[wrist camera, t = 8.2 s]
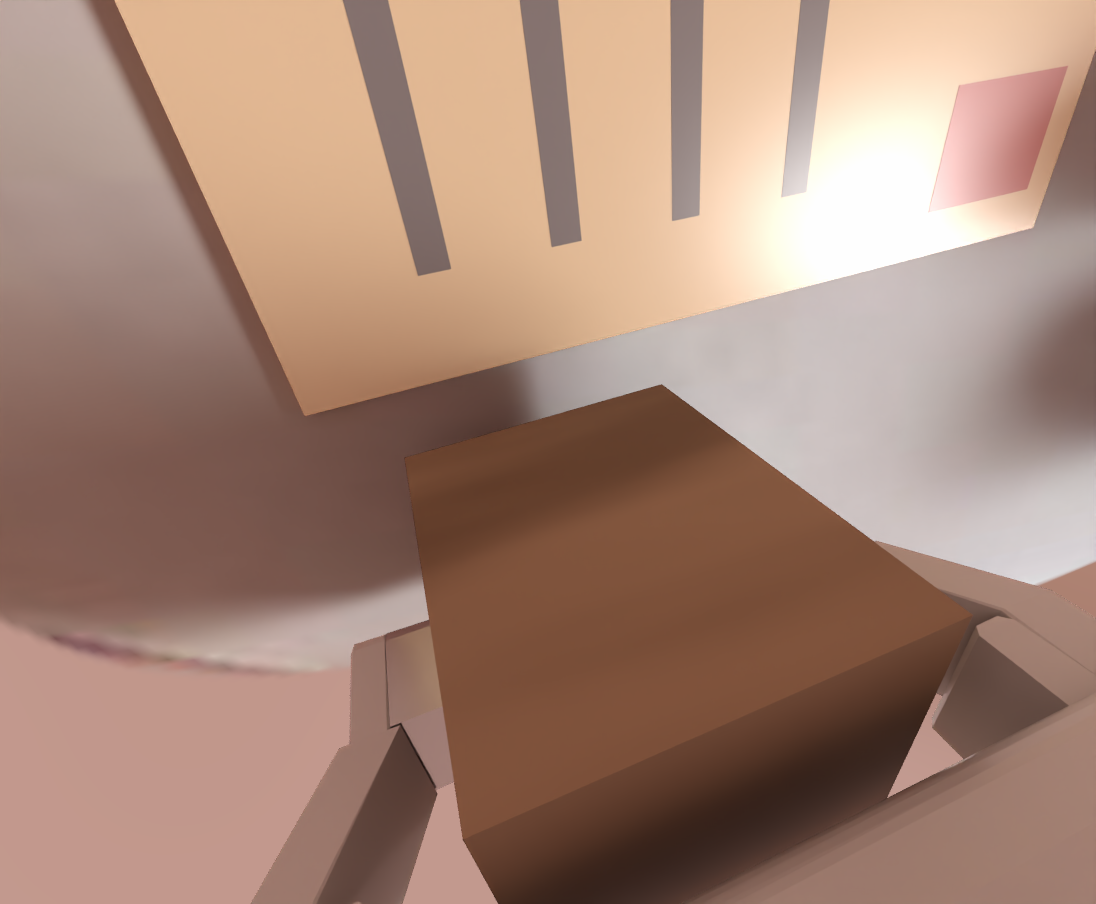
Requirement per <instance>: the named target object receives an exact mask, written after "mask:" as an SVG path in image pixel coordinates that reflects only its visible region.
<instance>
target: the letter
mask: <svg viewBox="0 0 1096 904" xmlns="http://www.w3.org/2000/svg"><path fill="white" fill-rule="evenodd" d="M114 1H115V3H116V5H117V7H118V9H119V12H120V14H121V16H122V18H123V20H124V22H125V25H126V27H127V29H128V31H129V33H130V36H131V38H132V40H133V42H134V44H135V47H136V49H137V51H138V53H139V55H140V57H141V60H142V62H143V64H144V66H145V68H146V71H147V73H148V75H149V77H150V79H151V81H152V84H153V86H154V88H155V90H156V92H157V95H158V97H159V99H160V101H161V103H162V106H163V108H164V110H165V112H166V114H167V116H168V119H169V121H170V123H171V125H172V127H173V130H174V132H175V134H176V136H177V138H178V141H179V143H180V145H181V147H182V149H183V151H184V154H185V156H186V158H187V160H188V162H189V165H190V167H191V169H192V171H193V173H194V175H195V178H196V180H197V182H198V184H199V186H200V189H201V191H202V193H203V195H204V197H205V200H206V202H207V204H208V206H209V208H210V210H211V213H212V215H213V217H214V219H215V221H216V224H217V226H218V228H219V230H220V232H221V234H222V237H223V239H224V241H225V243H226V245H227V248H228V250H229V252H230V254H231V256H232V259H233V261H234V263H235V265H236V267H237V269H238V272H239V274H240V276H241V278H242V280H243V283H244V285H245V287H246V289H247V291H248V294H249V296H250V298H251V300H252V302H253V304H254V307H255V309H256V311H257V313H258V315H259V318H260V320H261V322H262V324H263V326H264V328H265V331H266V333H267V335H268V337H269V339H270V342H271V344H272V346H273V348H274V350H275V353H276V355H277V357H278V359H279V361H280V363H281V366H282V368H283V370H284V372H285V374H286V377H287V379H288V381H289V383H290V385H291V387H292V390H293V392H294V394H295V396H296V398H297V401H298V403H299V405H300V407H301V409H302V412H303V414H304V416H308V415H311V414H315V413H319V412H323V411H327V410H331V409H335V408H339V407H342V406H346V405H350V404H354V403H358V402H362V401H366V400H369V399H373V398H377V397H381V396H385V395H389V394H393V393H396V392H400V391H404V390H408V389H412V388H416V387H420V386H424V385H427V384H431V383H435V382H439V381H443V380H447V379H451V378H454V377H458V376H462V375H466V374H470V373H474V372H478V371H482V370H485V369H489V368H493V367H497V366H501V365H505V364H509V363H512V362H516V361H520V360H524V359H528V358H532V357H536V356H539V355H543V354H547V353H551V352H555V351H559V350H563V349H567V348H570V347H574V346H578V345H582V344H586V343H590V342H594V341H597V340H601V339H605V338H609V337H613V336H617V335H621V334H625V333H628V332H632V331H636V330H640V329H644V328H648V327H652V326H655V325H659V324H663V323H667V322H671V321H675V320H679V319H683V318H686V317H690V316H694V315H698V314H702V313H706V312H710V311H713V310H717V309H721V308H725V307H729V306H733V305H737V304H740V303H744V302H748V301H752V300H756V299H760V298H764V297H768V296H771V295H775V294H779V293H783V292H787V291H791V290H795V289H798V288H802V287H806V286H810V285H814V284H818V283H822V282H826V281H829V280H833V279H837V278H841V277H845V276H849V275H853V274H856V273H860V272H864V271H868V270H872V269H876V268H880V267H883V266H887V265H891V264H895V263H899V262H903V261H907V260H911V259H914V258H918V257H922V256H926V255H930V254H934V253H938V252H941V251H945V250H949V249H953V248H957V247H961V246H965V245H969V244H972V243H976V242H980V241H984V240H988V239H992V238H996V237H999V236H1003V235H1007V234H1011V233H1015V232H1019V231H1023V230H1026V229H1030V228H1033V227H1034V224H1035V221H1036V218H1037V215H1038V213H1039V210H1040V207H1041V204H1042V201H1043V198H1044V196H1045V193H1046V190H1047V187H1048V184H1049V181H1050V178H1051V176H1052V173H1053V170H1054V167H1055V164H1056V161H1057V159H1058V156H1059V153H1060V150H1061V147H1062V144H1063V141H1064V139H1065V136H1066V133H1067V130H1068V127H1069V124H1070V122H1071V119H1072V116H1073V113H1074V110H1075V107H1076V104H1077V102H1078V99H1079V96H1080V93H1081V90H1082V87H1083V85H1084V82H1085V79H1086V76H1087V73H1088V70H1089V68H1090V65H1091V62H1092V59H1093V56H1094V53H1095V50H1096V0H114Z"/></svg>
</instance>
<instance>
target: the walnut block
mask: <svg viewBox="0 0 1096 904" xmlns="http://www.w3.org/2000/svg"><path fill="white" fill-rule="evenodd" d="M405 465H406V471H407V478H408V484H409V491H410V498H411V504H412V511H413V517H414V524H415V530H416V537H417V543H418V550H419V556H420V563H421V569H422V576H423V582H424V589H425V595H426V602H427V609H428V615H429V622H430V628H431V635H432V641H433V648H434V654H435V661H436V667H437V674H438V680H439V687H440V693H441V700H442V707H443V713H444V720H445V726H446V733H447V739H448V746H449V752H450V759H451V765H452V772H453V778H454V785H455V791H456V797H457V804H458V811H459V818H460V824H461V831H462V837H463V841H464V842H465V844H466V846H467V848H468V850H469V851H470V853H471V855H472V857H473V859H474V860H475V862H476V864H477V866H478V867H479V869H480V872H481V873H482V875H483V877H484V879H485V881H486V882H487V884H488V886H489V888H490V890H491V891H492V893H493V895H494V897H495V898H496V900H497V902H498V904H680V903H682V902H684V901H686V900H688V899H690V898H692V897H694V896H696V895H698V894H700V893H702V892H704V891H706V890H708V889H709V888H711V887H713V886H715V885H717V884H719V883H721V882H723V881H725V880H727V879H729V878H731V877H733V876H735V875H737V874H739V873H741V872H743V871H745V870H747V869H749V868H751V867H753V866H755V865H757V864H759V863H761V862H763V861H765V860H767V859H769V858H770V857H772V856H774V855H776V854H778V853H780V852H782V851H784V850H786V849H788V848H790V847H792V846H794V845H796V844H798V843H800V842H802V841H804V840H806V839H808V838H810V837H812V836H814V835H816V834H818V833H820V832H822V831H824V830H826V829H828V828H830V827H831V826H833V825H835V824H837V823H839V822H841V821H843V820H845V819H847V818H849V817H851V816H853V815H855V814H857V813H859V812H861V811H863V810H865V809H867V808H869V807H871V806H873V805H875V804H877V803H879V802H881V801H883V800H885V799H887V797H888V794H889V792H890V790H891V788H892V786H893V784H894V782H895V780H896V777H897V775H898V773H899V771H900V769H901V767H902V765H903V762H904V760H905V758H906V756H907V754H908V752H909V750H910V748H911V746H912V744H913V741H914V739H915V737H916V735H917V733H918V731H919V729H920V727H921V724H922V722H923V720H924V718H925V716H926V714H927V712H928V710H929V707H930V705H931V703H932V701H933V699H934V697H935V695H936V693H937V690H938V688H939V686H940V684H941V682H942V680H943V678H944V676H945V674H946V671H947V669H948V667H949V665H950V663H951V661H952V659H953V657H954V654H955V652H956V650H957V648H958V646H959V644H960V642H961V640H962V637H963V635H964V633H965V631H966V629H967V627H968V625H969V623H970V621H971V618H972V616H973V615H972V614H971V613H970V612H968V611H967V610H966V609H964V608H963V607H962V606H960V605H959V604H958V603H956V602H955V601H953V600H952V599H951V598H949V597H948V596H947V595H945V594H944V593H943V592H941V591H940V590H939V589H937V588H936V587H935V586H933V585H932V584H931V583H929V582H928V581H926V580H925V579H924V578H922V577H921V576H920V575H918V574H917V573H916V572H914V571H913V570H912V569H910V568H909V567H908V566H906V565H905V564H904V563H902V562H901V561H899V560H898V559H897V558H895V557H894V556H893V555H891V554H890V553H889V552H887V551H886V550H885V549H883V548H882V547H881V546H879V545H878V544H877V543H875V542H874V541H872V540H871V539H870V538H868V537H867V536H866V535H864V534H863V533H862V532H860V531H859V530H858V529H856V528H855V527H854V526H852V525H851V524H849V523H848V522H847V521H845V520H844V519H843V518H841V517H840V516H839V515H837V514H836V513H835V512H833V511H832V510H831V509H829V508H828V507H827V506H825V505H824V504H822V503H821V502H820V501H818V500H817V499H816V498H814V497H813V496H812V495H810V494H809V493H808V492H806V491H805V490H804V489H802V488H801V487H800V486H798V485H797V484H795V483H794V482H793V481H791V480H790V479H789V478H787V477H786V476H785V475H783V474H782V473H781V472H779V471H778V470H777V469H775V468H774V467H773V466H771V465H770V464H768V463H767V462H766V461H764V460H763V459H762V458H760V457H759V456H758V455H756V454H755V453H754V452H752V451H751V450H750V449H748V448H747V447H746V446H744V445H743V444H741V443H740V442H739V441H737V440H736V439H735V438H733V437H732V436H731V435H729V434H728V433H727V432H725V431H724V430H723V429H721V428H720V427H719V426H717V425H716V424H714V423H713V422H712V421H710V420H709V419H708V418H706V417H705V416H704V415H702V414H701V413H700V412H698V411H697V410H696V409H694V408H693V407H692V406H690V405H689V404H687V403H686V402H685V401H683V400H682V399H681V398H679V397H678V396H677V395H675V394H674V393H673V392H671V391H670V390H669V389H667V388H666V387H664V386H663V385H662V384H661V385H658V386H654V387H651V388H647V389H644V390H640V391H637V392H633V393H630V394H626V395H623V396H619V397H616V398H612V399H609V400H605V401H602V402H598V403H595V404H591V405H588V406H584V407H581V408H577V409H574V410H570V411H567V412H563V413H560V414H556V415H553V416H549V417H546V418H542V419H539V420H535V421H532V422H528V423H525V424H521V425H518V426H514V427H511V428H507V429H504V430H500V431H497V432H493V433H490V434H486V435H483V436H479V437H476V438H472V439H469V440H465V441H462V442H458V443H455V444H451V445H448V446H444V447H441V448H437V449H434V450H430V451H427V452H423V453H420V454H416V455H413V456H409V457H406V458H405Z"/></svg>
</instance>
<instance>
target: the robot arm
mask: <svg viewBox="0 0 1096 904" xmlns="http://www.w3.org/2000/svg"><path fill="white" fill-rule="evenodd" d="M875 543H877V544H878V545H879V546H881V547H882V548H883V549H885V550H886V551H887V552H889V553H890V554H891V555H893V556H894V557H895V558H897V559H898V560H899V561H901V562H902V563H904V564H905V565H906V566H908V567H909V568H910V569H912V570H913V571H914V572H916V573H917V574H918V575H920V576H921V577H922V578H924V579H925V580H926V581H928V582H929V583H931V584H932V585H933V586H935V587H936V588H937V589H939V590H940V591H941V592H943V593H944V594H945V595H947V596H948V597H949V598H951V599H952V600H953V601H955V602H956V603H958V604H959V605H960V606H962V607H963V608H964V609H966V610H967V611H968V612H970V613H971V614H972V615H973V616H972V618H971V621H970V623H969V625H968V627H967V629H966V631H965V633H964V635H963V637H962V640H961V642H960V644H959V646H958V648H957V650H956V652H955V654H954V657H953V659H952V661H951V663H950V665H949V667H948V669H947V671H946V674H945V676H944V678H943V680H942V682H941V684H940V686H939V688H938V690H937V694H939V695H941V696H942V698H941V700H940V702H939V704H938V706H937V708H936V710H935V712H934V715H933V717H932V728H933V729H934V730H935V731H936V732H937V733H938V734H939V735H940V736H941V737H942V738H943V739H944V740H945V741H946V742H947V743H948V744H949V745H950V746H951V747H952V748H953V749H954V750H955V751H956V752H957V753H958V754H959V755H960V756H961V757H962V758H963V760H961V761H959V762H958V763H955V764H953V765H952V766H950V767H948V768H946V769H944V770H942V771H940V772H938V773H936V774H934V775H932V776H930V777H928V778H926V779H924V780H922V781H920V782H918V783H916V784H914V785H912V786H910V787H908V788H906V789H904V790H902V791H900V792H898V793H896V794H894V795H893V796H891V797H889V798H887V799H885V800H883V801H881V802H879V803H877V804H875V805H873V806H871V807H869V808H867V809H865V810H863V811H861V812H859V813H857V814H855V815H853V816H851V817H849V818H847V819H845V820H843V821H841V822H839V823H837V824H835V825H833V826H831V827H830V828H828V829H826V830H824V831H822V832H820V833H818V834H816V835H814V836H812V837H810V838H808V839H806V840H804V841H802V842H800V843H798V844H796V845H794V846H792V847H790V848H788V849H786V850H784V851H782V852H780V853H778V854H776V855H774V856H772V857H770V858H769V859H767V860H765V861H763V862H761V863H759V864H757V865H755V866H753V867H751V868H749V869H747V870H745V871H743V872H741V873H739V874H737V875H735V876H733V877H731V878H729V879H727V880H725V881H723V882H721V883H719V884H717V885H715V886H713V887H711V888H709V889H708V890H706V891H704V892H702V893H700V894H698V895H696V896H694V897H692V898H690V899H688V900H686V901H684V902H682V903H680V904H1096V618H1095V617H1093V616H1092V615H1090V614H1089V613H1087V612H1086V611H1084V610H1082V609H1081V608H1079V607H1078V606H1076V605H1074V604H1073V603H1071V602H1070V601H1068V600H1066V599H1065V598H1063V597H1061V596H1060V595H1058V594H1057V593H1055V592H1053V591H1052V590H1049V589H1045V588H1042V587H1038V586H1035V585H1031V584H1028V583H1024V582H1021V581H1017V580H1014V579H1010V578H1006V577H1003V576H999V575H996V574H992V573H989V572H985V571H982V570H978V569H974V568H971V567H967V566H964V565H960V564H957V563H953V562H950V561H946V560H942V559H939V558H935V557H932V556H928V555H925V554H921V553H918V552H914V551H910V550H907V549H903V548H900V547H896V546H893V545H889V544H886V543H882V542H879V541H875ZM350 689H351V690H350V743H349V745H346V746H344V747H342V748H339V750H338V751H337V753H336V755H335V757H334V759H333V760H332V762H331V764H330V765H329V767H328V769H327V771H326V772H325V774H324V776H323V778H322V780H321V781H320V783H319V785H318V787H317V788H316V790H315V792H314V794H313V795H312V797H311V799H310V801H309V802H308V804H307V806H306V807H305V809H304V811H303V813H302V814H301V816H300V818H299V820H298V821H297V823H296V825H295V827H294V829H293V830H292V832H291V834H290V836H289V837H288V839H287V841H286V842H285V844H284V846H283V848H282V849H281V851H280V853H279V855H278V857H277V858H276V860H275V862H274V863H273V865H272V867H271V869H270V871H269V872H268V874H267V876H266V878H265V879H264V881H263V883H262V885H261V886H260V888H259V890H258V892H257V893H256V895H255V897H254V899H253V900H252V902H251V904H402V903H403V900H404V897H405V894H406V891H407V888H408V884H409V881H410V878H411V875H412V872H413V869H414V865H415V863H416V859H417V856H418V853H419V850H420V847H421V843H422V840H423V837H424V834H425V831H426V828H427V825H428V822H429V818H430V815H431V812H432V809H433V806H434V803H435V800H436V796H437V792H436V790H437V789H439V788H442V787H444V786H446V785H448V784H450V783H453V782H454V778H453V772H452V765H451V759H450V752H449V746H448V739H447V733H446V726H445V720H444V713H443V707H442V700H441V693H440V687H439V680H438V674H437V667H436V661H435V654H434V648H433V641H432V635H431V628H430V622H429V620H427V621H424V622H421V623H418V624H414V625H411V626H408V627H405V628H402V629H399V630H396V631H393V632H390V633H387V634H385V635H382V636H379V637H376V638H373V639H370V640H367V641H364V642H361V643H358V644H355V645H354V647H353V650H352V653H351V687H350Z"/></svg>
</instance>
